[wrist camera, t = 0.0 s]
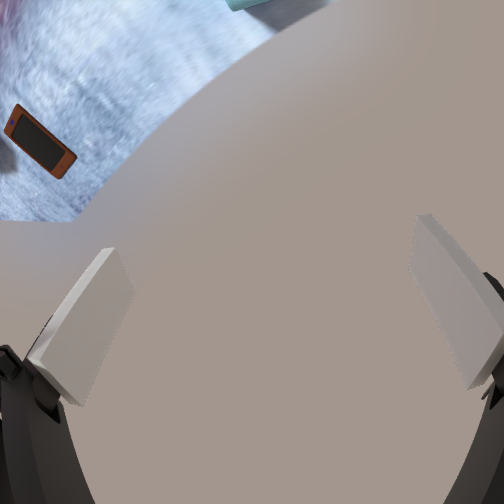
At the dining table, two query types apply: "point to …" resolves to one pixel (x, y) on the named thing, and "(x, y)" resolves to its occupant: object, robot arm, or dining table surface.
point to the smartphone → (38, 142)
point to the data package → (242, 3)
